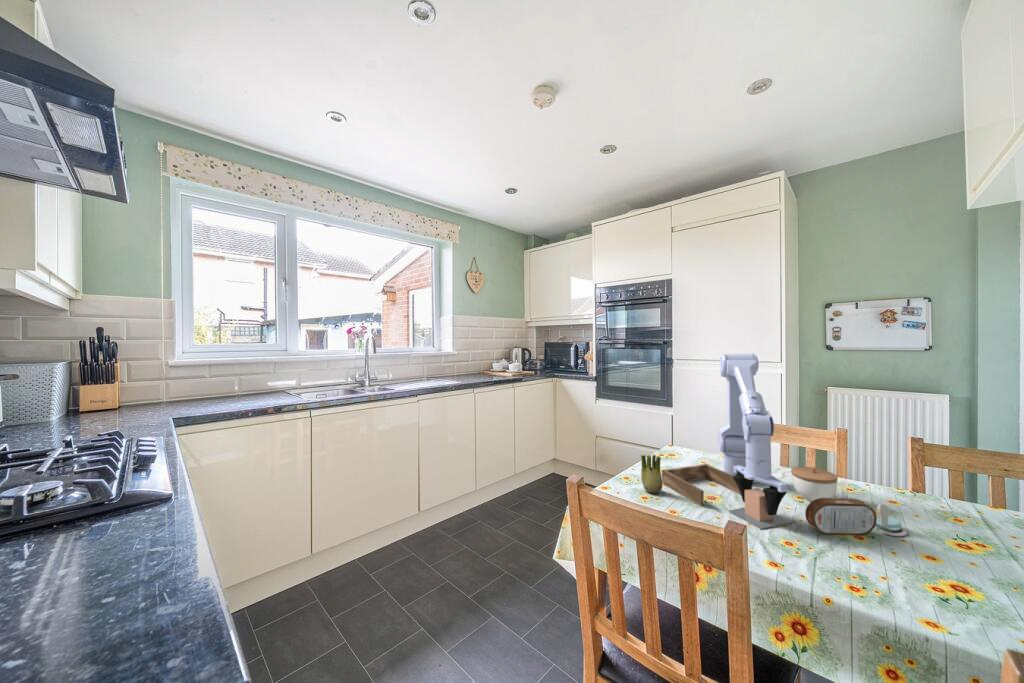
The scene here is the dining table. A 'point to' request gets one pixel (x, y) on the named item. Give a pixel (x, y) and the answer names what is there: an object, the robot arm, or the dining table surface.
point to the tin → (841, 516)
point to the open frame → (680, 475)
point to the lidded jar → (814, 483)
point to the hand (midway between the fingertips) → (759, 507)
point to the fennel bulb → (651, 474)
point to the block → (756, 504)
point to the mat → (760, 524)
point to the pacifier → (888, 522)
